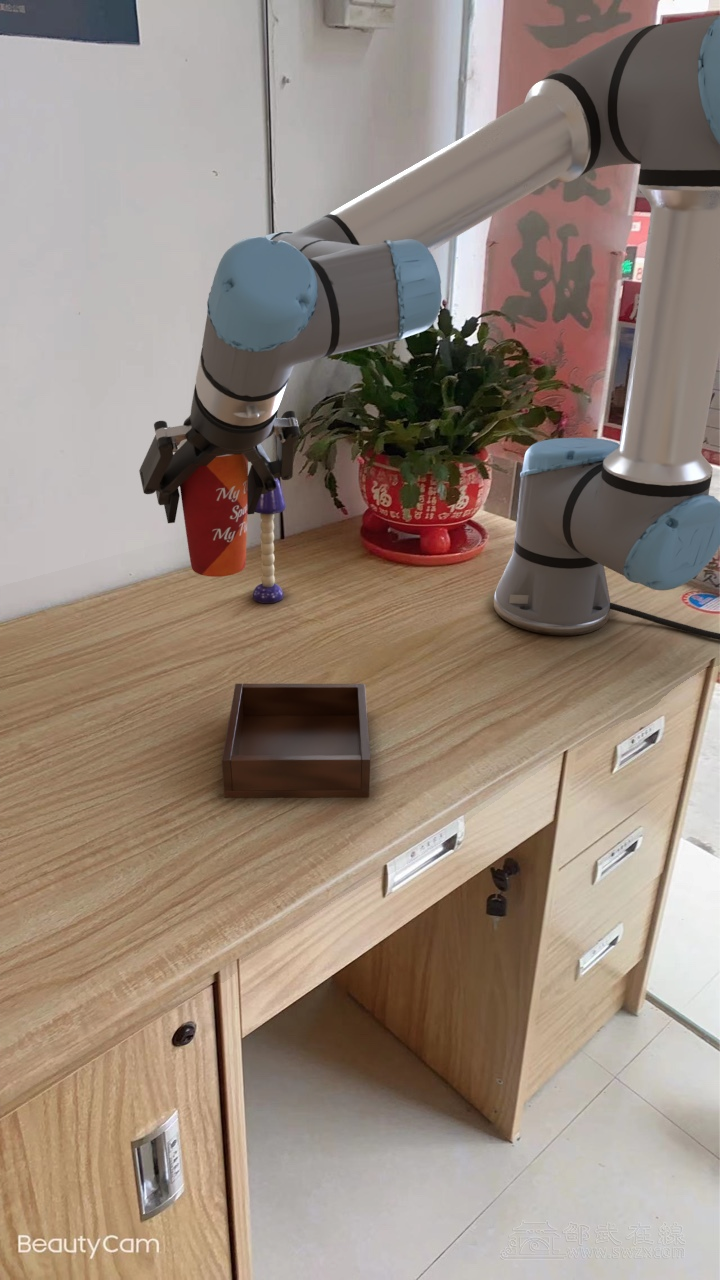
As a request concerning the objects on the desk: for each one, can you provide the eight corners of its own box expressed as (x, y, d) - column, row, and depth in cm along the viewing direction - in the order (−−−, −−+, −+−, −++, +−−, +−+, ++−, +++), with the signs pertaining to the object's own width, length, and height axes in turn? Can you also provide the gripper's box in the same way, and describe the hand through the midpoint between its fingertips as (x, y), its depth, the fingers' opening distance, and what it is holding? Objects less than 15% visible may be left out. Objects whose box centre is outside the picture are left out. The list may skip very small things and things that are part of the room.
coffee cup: (241, 584, 94) (235, 445, 87) (169, 576, 95) (157, 438, 88) (265, 555, 101) (261, 424, 94) (197, 548, 102) (189, 419, 95)
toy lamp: (257, 587, 123) (253, 472, 116) (290, 590, 123) (288, 474, 115) (249, 602, 119) (244, 483, 111) (283, 605, 119) (280, 486, 111)
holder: (363, 717, 95) (364, 683, 93) (369, 797, 83) (370, 759, 81) (237, 717, 94) (235, 683, 92) (224, 797, 83) (221, 760, 80)
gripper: (123, 440, 73) (118, 549, 94) (360, 421, 80) (306, 527, 101) (108, 362, 75) (106, 486, 96) (340, 350, 82) (292, 468, 102)
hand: (209, 507), depth 98 cm, fingers closed on coffee cup, 8 cm apart
